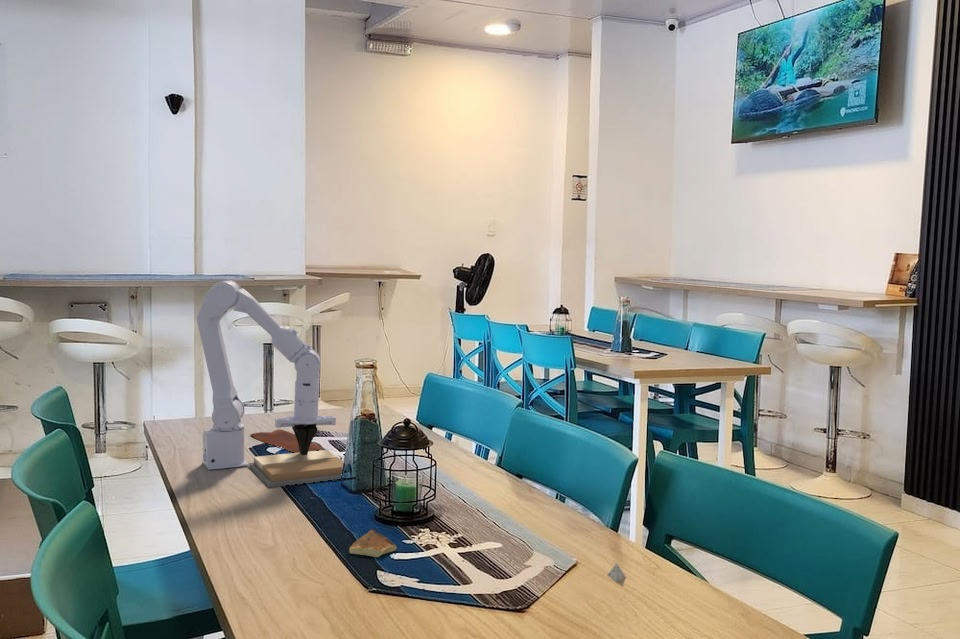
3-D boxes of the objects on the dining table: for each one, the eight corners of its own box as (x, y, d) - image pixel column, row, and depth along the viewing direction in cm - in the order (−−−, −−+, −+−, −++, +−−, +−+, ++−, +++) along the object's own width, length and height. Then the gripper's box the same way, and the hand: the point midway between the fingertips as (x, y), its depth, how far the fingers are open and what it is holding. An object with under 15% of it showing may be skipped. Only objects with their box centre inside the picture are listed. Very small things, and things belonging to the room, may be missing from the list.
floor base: (269, 487, 194) (269, 477, 193) (249, 466, 210) (249, 456, 210) (355, 477, 203) (355, 467, 203) (330, 458, 220) (330, 448, 219)
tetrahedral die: (613, 579, 150) (609, 562, 150) (627, 578, 148) (622, 560, 148) (602, 585, 147) (597, 567, 147) (615, 584, 145) (611, 566, 146)
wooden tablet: (247, 438, 242) (247, 432, 242) (280, 433, 248) (280, 427, 248) (294, 457, 222) (294, 451, 221) (329, 452, 228) (329, 445, 228)
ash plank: (262, 471, 203) (262, 464, 203) (254, 463, 210) (254, 456, 210) (337, 463, 211) (337, 457, 211) (326, 455, 219) (326, 449, 218)
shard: (372, 536, 166) (372, 526, 166) (410, 540, 164) (410, 531, 164) (347, 555, 156) (347, 545, 156) (387, 561, 154) (387, 551, 153)
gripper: (281, 404, 206) (278, 461, 207) (340, 402, 213) (338, 457, 214) (273, 398, 212) (271, 454, 213) (331, 396, 219) (329, 450, 220)
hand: (304, 455), depth 214 cm, fingers closed, pressing on ash plank
